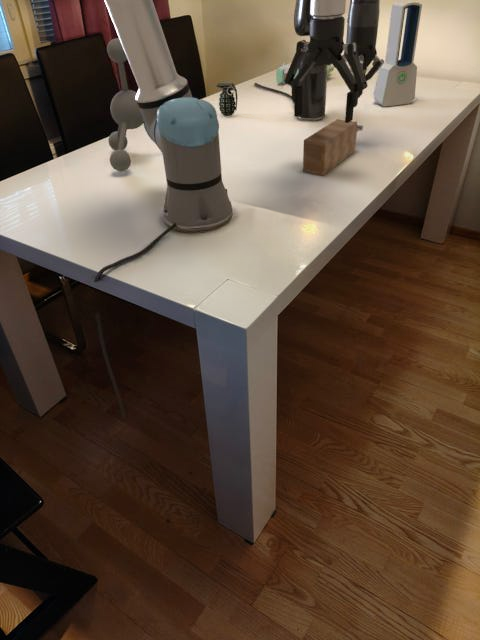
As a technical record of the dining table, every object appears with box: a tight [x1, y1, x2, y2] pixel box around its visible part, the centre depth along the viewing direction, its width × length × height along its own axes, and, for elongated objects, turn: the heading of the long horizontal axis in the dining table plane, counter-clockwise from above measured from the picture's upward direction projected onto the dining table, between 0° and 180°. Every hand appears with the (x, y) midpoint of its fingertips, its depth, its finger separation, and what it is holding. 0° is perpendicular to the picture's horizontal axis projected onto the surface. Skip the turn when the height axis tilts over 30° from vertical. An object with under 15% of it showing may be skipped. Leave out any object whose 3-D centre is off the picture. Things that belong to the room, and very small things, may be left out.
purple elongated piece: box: [355, 124, 364, 144], centre depth 131 cm, size 24×5×6 cm, turn 146°
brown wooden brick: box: [302, 118, 358, 176], centre depth 128 cm, size 19×6×8 cm, turn 146°
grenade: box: [215, 82, 238, 117], centre depth 166 cm, size 7×6×10 cm
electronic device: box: [373, 0, 423, 108], centre depth 163 cm, size 12×8×30 cm, turn 105°
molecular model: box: [106, 37, 144, 172], centre depth 131 cm, size 24×22×30 cm
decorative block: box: [275, 62, 335, 84], centre depth 205 cm, size 26×6×20 cm
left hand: (322, 118), depth 119 cm, fingers open, 13 cm apart
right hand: (356, 97), depth 132 cm, fingers closed
